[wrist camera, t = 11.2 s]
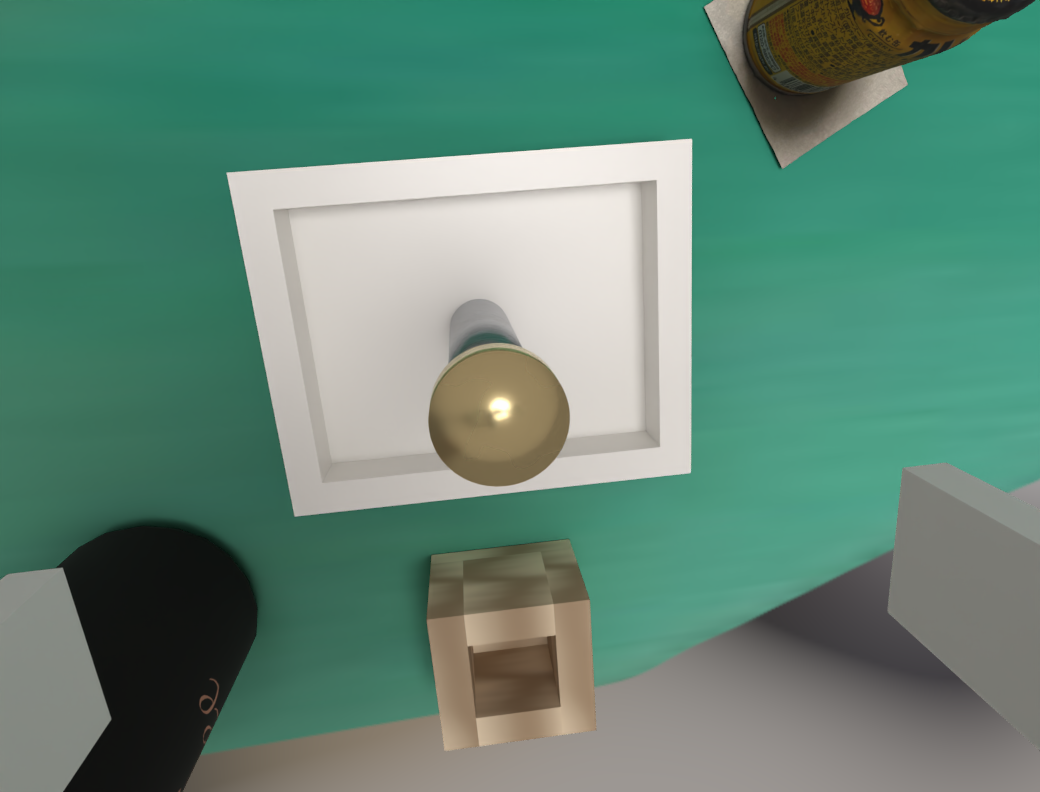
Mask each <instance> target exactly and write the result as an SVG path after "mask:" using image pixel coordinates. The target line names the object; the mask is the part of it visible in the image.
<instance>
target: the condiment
mask: <svg viewBox="0 0 1040 792" xmlns="http://www.w3.org/2000/svg"><path fill="white" fill-rule="evenodd" d="M1034 1H1035V0H714V1H712V2H711V3H709V4H708V5H706V6H705V7H704V8H705V10H706V12H707V14H708V16H709V18H710V21H711V23H712V25H713V27H714V29H715V32H716V34H717V36H718V38H719V41H720V43H721V45H722V47H723V49H724V50H725V52H726V54H727V57H728V60H729V62H730V64H731V66H732V68H733V70H734V72H735V74H736V75H737V78H738V81H739V82H740V84H741V86H742V88H743V90H744V92H745V94H746V96H747V98H748V99H749V101H750V103H751V105H752V106H753V108H754V111H755V114H756V116H757V118H758V120H759V122H760V124H761V127H762V129H763V131H764V134H765V135H766V137H767V139H768V141H769V143H770V144H771V146H772V148H773V150H774V152H775V154H776V156H777V159H778V161H779V163H780V165H781V167H782V169H783V168H784V167H786V166H787V165H789V164H790V163H792V162H793V161H794V160H796V159H797V158H798V157H800V156H801V155H803V154H804V153H806V152H807V151H809V150H810V149H812V148H813V147H815V146H816V145H818V144H819V143H821V142H822V141H824V140H825V139H826V138H828V137H829V136H831V135H832V134H834V133H835V132H837V131H838V130H840V129H842V128H843V127H845V126H846V125H848V124H849V123H850V122H851V121H852V120H855V119H856V118H858V117H859V116H861V115H863V114H864V113H866V112H867V111H869V110H870V109H872V108H873V107H875V106H876V105H878V104H879V103H881V102H882V101H883V100H885V99H887V98H888V97H890V96H892V95H893V94H895V93H896V92H898V91H899V90H901V89H902V88H904V87H905V86H907V85H908V84H907V81H906V79H905V76H904V73H903V70H902V67H901V65H904V64H907V63H910V62H913V61H916V60H919V59H923V58H926V57H928V56H931V55H935V54H938V53H941V52H943V51H946V50H949V49H951V48H953V47H955V46H957V45H959V44H961V43H962V42H964V41H966V40H967V39H969V38H970V37H971V36H972V35H974V34H975V33H976V32H978V31H979V30H980V29H981V28H983V27H985V26H987V25H989V24H991V23H992V22H994V21H998V20H1001V19H1007V18H1009V17H1010V16H1011V15H1013V14H1014V13H1016V12H1019V11H1020V10H1022V9H1024V8H1025V7H1027V6H1028V5H1030V4H1031V3H1032V2H1034ZM774 97H776V100H775V99H774Z"/></svg>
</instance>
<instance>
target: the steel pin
mask: <svg viewBox="0 0 1040 792" xmlns="http://www.w3.org/2000/svg"><path fill="white" fill-rule="evenodd" d="M569 425H570V410H569V404H568V400H567V397H566V394H565V392H564V390H563V388H562V386H561V384H560V383H559V381H558V379H557V378H556V376H555V374H554V373H553V371H552V370H551V369H550V367H549V366H548V365H547V364H546V363H545V362H544V361H543V360H542V359H541V358H540V357H538V356H537V355H536V354H534V353H532V352H531V351H529V350H527V349H525V348H522V346H521V344H520V342H519V340H518V338H517V336H516V334H515V332H514V330H513V328H512V326H511V324H510V322H509V320H508V318H507V316H506V314H505V312H504V311H503V310H502V309H501V308H500V307H499V306H498V305H497V304H495V303H494V302H492V301H489V300H485V299H474V300H470V301H467V302H465V303H464V304H462V305H461V306H460V307H459V308H458V309H457V310H456V311H455V312H454V314H453V316H452V318H451V322H450V333H449V360H448V365H447V366H446V367H445V368H444V369H443V371H442V372H441V373H440V375H439V377H438V378H437V380H436V382H435V385H434V387H433V390H432V394H431V399H430V407H429V416H428V426H429V433H430V438H431V441H432V444H433V446H434V448H435V450H436V452H437V454H438V455H439V457H440V458H441V460H442V461H443V462H444V463H445V464H446V465H447V467H448V468H450V469H451V470H452V471H453V472H454V473H456V474H457V475H459V476H460V477H462V478H464V479H466V480H468V481H470V482H473V483H476V484H480V485H485V486H494V487H500V486H510V485H515V484H519V483H522V482H525V481H527V480H529V479H531V478H533V477H535V476H537V475H538V474H540V473H541V472H542V471H544V470H545V469H546V468H547V467H548V466H549V465H550V464H551V463H552V462H553V461H554V460H555V459H556V457H557V456H558V455H559V453H560V451H561V450H562V448H563V446H564V443H565V441H566V438H567V435H568V432H569Z"/></svg>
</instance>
